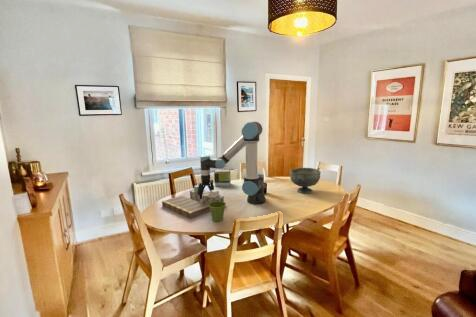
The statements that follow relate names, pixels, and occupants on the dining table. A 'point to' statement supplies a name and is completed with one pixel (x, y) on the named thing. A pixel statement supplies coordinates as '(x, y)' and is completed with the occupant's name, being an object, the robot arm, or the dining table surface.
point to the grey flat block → (186, 206)
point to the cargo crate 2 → (214, 193)
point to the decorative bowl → (305, 178)
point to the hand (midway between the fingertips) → (206, 201)
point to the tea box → (222, 177)
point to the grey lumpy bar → (205, 197)
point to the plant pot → (217, 210)
